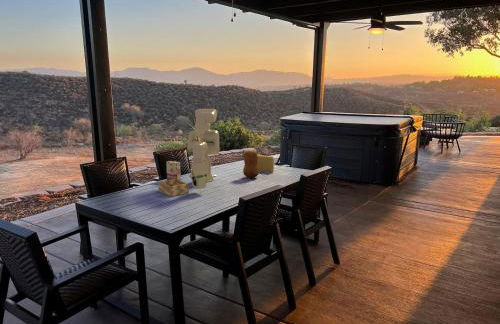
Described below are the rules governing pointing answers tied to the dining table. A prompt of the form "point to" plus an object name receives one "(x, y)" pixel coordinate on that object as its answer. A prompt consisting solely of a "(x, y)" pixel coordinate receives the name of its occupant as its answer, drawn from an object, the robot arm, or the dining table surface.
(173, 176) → the candy bar box
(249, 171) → the butternut squash
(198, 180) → the small crate
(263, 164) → the cheese
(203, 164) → the robot arm
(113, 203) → the dining table surface
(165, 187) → the wicker basket
